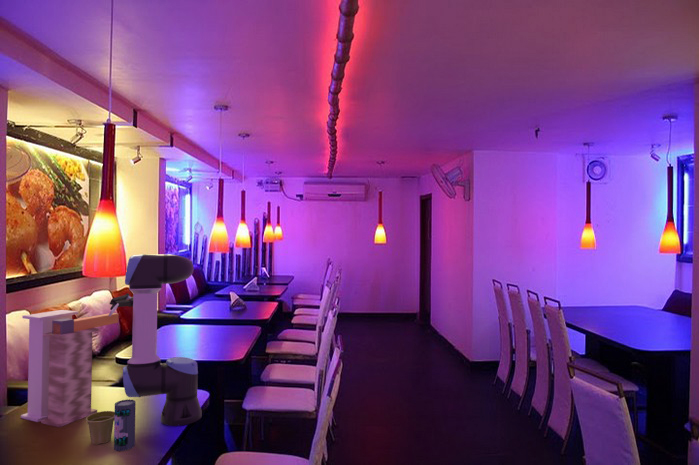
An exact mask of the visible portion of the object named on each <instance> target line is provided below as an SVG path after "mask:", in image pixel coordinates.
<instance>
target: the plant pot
mask: <svg viewBox="0 0 699 465" xmlns="http://www.w3.org/2000/svg"><path fill="white" fill-rule="evenodd" d="M114 415H115V411H113V410H104V411H97V412H96V413H94V414H91V415H89V416H86V417H85V421H86V423H87V425H88V430H89V435H90V436H89V437H90V443H91V444H92V445H101V444H106V443H108V442H110V441H111V440H112V434H113V430H114Z"/></svg>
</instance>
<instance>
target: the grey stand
mask: <svg viewBox="0 0 699 465" xmlns="http://www.w3.org/2000/svg"><path fill="white" fill-rule="evenodd" d="M74 315H79V311H77V310H70V309H69V310H67V309H59V310H53V311H51V310H50V311H44V312H38V313H32V314H25V315H22V316H21V317H22V319H24V320H26V319H27V320H29V322H28V328H29V329H28V365H27V366H28V368H27V369H28V372H27V373H28V374H27V379H28V380H27V412H26V413H23V414H21V415H20V419H24V420H27V421H32V422H36V423H38V422H41V420H43V419H46V418H48V397H49V340H50V337H43V334H44V333H49V332H52V320H57V319H63V318H67V319H73V316H74Z"/></svg>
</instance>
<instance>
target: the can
mask: <svg viewBox="0 0 699 465" xmlns="http://www.w3.org/2000/svg"><path fill="white" fill-rule="evenodd" d="M136 405H137V404H136V400H134V399H123V400H119V401H117V402H115V403H114V412H115V415H114V423H113V431H114V432H113V434H114V435H113V450H115V451H116V452H124V451H128V450H129V451H130V450H131V449H133V448H134V447H135V445H136Z"/></svg>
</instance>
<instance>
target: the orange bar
mask: <svg viewBox="0 0 699 465" xmlns="http://www.w3.org/2000/svg"><path fill="white" fill-rule="evenodd" d="M109 314H110V312H108V313H104V314H98V315H93V316H87V317H80V318H75V319H73V318H72V319H67V318H63V319H57V320H52V333H53V334H61V335H62V334H67V333H72V332H75V331H80V330H85V329H90V328H99V327H104V326H109V325H114V324H118V323H119V318H120V317H119V316H120V314H119V313H117V312H114V313H113V314H112V315H111V316H109Z"/></svg>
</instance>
